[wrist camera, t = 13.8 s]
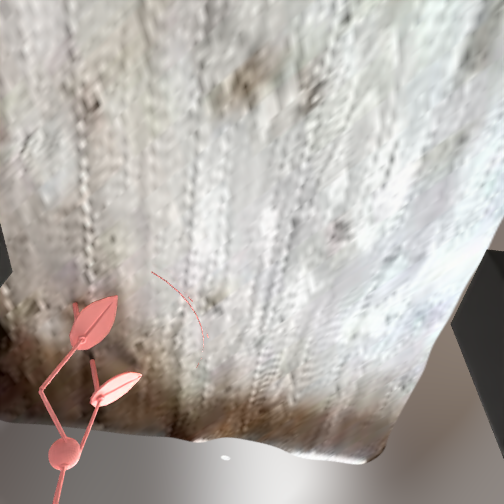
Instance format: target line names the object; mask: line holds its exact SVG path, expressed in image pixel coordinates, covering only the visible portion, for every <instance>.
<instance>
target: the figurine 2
mask: <svg viewBox="0 0 504 504" xmlns="http://www.w3.org/2000/svg"><path fill="white" fill-rule="evenodd" d="M152 273H153V272H152ZM153 274H155V273H153ZM155 275H156V276H158V275H157V274H155ZM158 277H159V278H161V277H160V276H158ZM161 279H163V278H161ZM163 280H164V279H163ZM164 281H166V280H164ZM166 282H167V281H166ZM167 283H168V282H167ZM168 284H169V283H168ZM169 285H170V286H172V285H171V284H169ZM172 287H173V286H172ZM173 288H174V287H173ZM174 289H175V288H174ZM175 290H176V291H178V290H177V289H175ZM178 292H179V291H178ZM179 293H180V292H179ZM180 295H181V296H182V294H181V293H180ZM182 297H183V296H182ZM117 298H118V296H117V295H115V296H110V297H106V298H103V299H101V300H98V301H95V302H92V303H91V304H89V305H88V306H87V307H85V308H84V309H82V310H81V312H80V313H79V308H78V303H76V302H75V303H73V311H74V317H75V321H74V324H73V327H72V330H71V332H70V335H69V336H70V341H71V346H72V347H73V348H72V349H71V350H70V352H69V353H68V354H67V355H66V356H65V358H64V359H63V360H62V361H61V363H60V364H59V365H58V366H57V367H56V369H55V370H54V371H53V372H52V373H51V375H50V376H49V377H48V378H47V379H46V381H45V382H44V383H43V384H42V385H41V387H40V388H39V390H40V391H38V392H39V394H40V396H41V398H42V400H43V402H44V404H45V406H46V408H47V410H48V412H49V414H50V416H51V418H52V419H53V421H54V423H55V425H56V427H57V429H58V431H59V433H60V435H61V437H62V438H61V439H58V440H57V441H55V442H54V443H53V444H52V446H51V447H50V450H49V462H50V464H51V465H52V467H54V468H55V469H57V470H61V472H60V476H59V480H58V484H57V488H56V492H55V496H54V500H53V504H58V503H59V498H60V494H61V489H62V483H63V479H64V474H65V470H67V469H70V468H72V467H73V466H74V465H75V464H76V463H77V462H78V460H79V458H80V454H81V452H82V449H83V446H84V444H85V441H86V439H87V436H88V434H89V431H90V429H91V426H92V424H93V421H94V418H95V416H96V413H97V411H98V408H99V406H104V405H107V404H109V403H111V402H113V401H115V400H117V399H118V398H120V397H121V396H122V395H124V394H125V393H126V392H127V391H128V390H129V389H130V388H131V387H132V386H133V385H134V384H135V383H136V382H137V381H138V380H139V379H140V378H141V377H142V374H140V373H137V372H130V371H128V372H124V373H121V374H118V375H116V376H114V377H112V378H111V379H109V380H108V381H106V382H105V383H104V384H103V385H101V386H99V381H98V376H97V370H96V365H95V360H94V359H91V360H90V365H91V370H92V376H93V381H94V387H95V392H94V393H93V395H92V397H91V398H90V399H91V401H90V403H91V404H92V405H93V406H94V407H95V410H94V412H93V415H92V417H91V420H90V422H89V425H88V427H87V430H86V432H85V434H84V437H83V439H82V442H81V444H80V445H79V444H78V442H77V441H76V440H75V439H73V438H70V437H66V435H65V433H64V431H63V429H62V427H61V425H60V423H59V421H58V419H57V417H56V415H55V413H54V411H53V409H52V408H51V406H50V404H49V402H48V400H47V398H46V396H45V394H44V392H43V390H44V389H45V387H46V386H47V385H48V384H49V383H50V381H51V380H52V379H53V378H54V376H55V375H56V374H57V373H58V371H59V370H60V369H61V368H62V366H63V365H64V364H65V363H66V362H67V360H68V359H69V358H70V357H71V355H72V354H73V353H74V352H75V350H88V349H89V348H91V347H93V346H94V345H96V344H97V343H99V342H101V341H102V340H103V339H104V338H105V337H106V336H107V335H108V333H109V332H110V330H111V327H112V325H113V323H114V321H115V315H116V309H117ZM183 298H184V297H183ZM184 299H185V298H184ZM189 299H190V298H189ZM185 300H186V299H185ZM190 300H191V299H190ZM186 301H187V300H186ZM191 301H192V300H191ZM187 302H188V301H187ZM192 302H193V301H192ZM188 303H189V302H188ZM189 305H190V304H189ZM190 307H191V305H190ZM191 308H192V307H191ZM192 310H193V308H192ZM193 311H194V310H193ZM194 313H195V311H194ZM195 314H196V313H195ZM196 316H197V315H196ZM197 319H198V317H197ZM198 321H199V319H198ZM199 323H200V322H199ZM200 326H201V324H200ZM201 329H202V327H201ZM202 334H203V332H202ZM207 337H208V335H207ZM203 348H204V337H203ZM197 366H198V365H197ZM196 368H197V367H196ZM137 377H138V378H137Z"/></svg>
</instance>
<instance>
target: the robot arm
mask: <svg viewBox="0 0 504 504" xmlns="http://www.w3.org/2000/svg"><path fill="white" fill-rule="evenodd" d="M11 273H12V268H11V264H10V260H9V256H8V252H7V248H6V244H5V240H4V236H3V232H2V228H1V224H0V287H1V286H2V285H3V284H4V282H5V281H6V280H7V278H8V277H9V276H10V275H11ZM451 326H452V329H453V331H454V334H455V336H456V339H457V341H458V344H459V346H460V349H461V352H462V354H463V357H464V359H465V362H466V364H467V367H468V369H469V372H470V375H471V377H472V379H473V382H474V385H475V387H476V389H477V392H478V395H479V397H480V400H481V402H482V405H483V407H484V410H485V412H486V415H487V417H488V420H489V423H490V425H491V428H492V430H493V433H494V435H495V438H496V440H497V443H498V445H499V448H500V450H501V453H502V456H503V458H504V251H496V250H486V252H485V254H484V256H483V259H482V261H481V263H480V265H479V267H478V269H477V271H476V273H475V275H474V277H473V279H472V281H471V284H470V285H469V287H468V289H467V292H466V294H465V296H464V298H463V300H462V302H461V304H460V306H459V308H458V310H457V312H456V314H455V316H454V318H453V320H452V322H451Z"/></svg>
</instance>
